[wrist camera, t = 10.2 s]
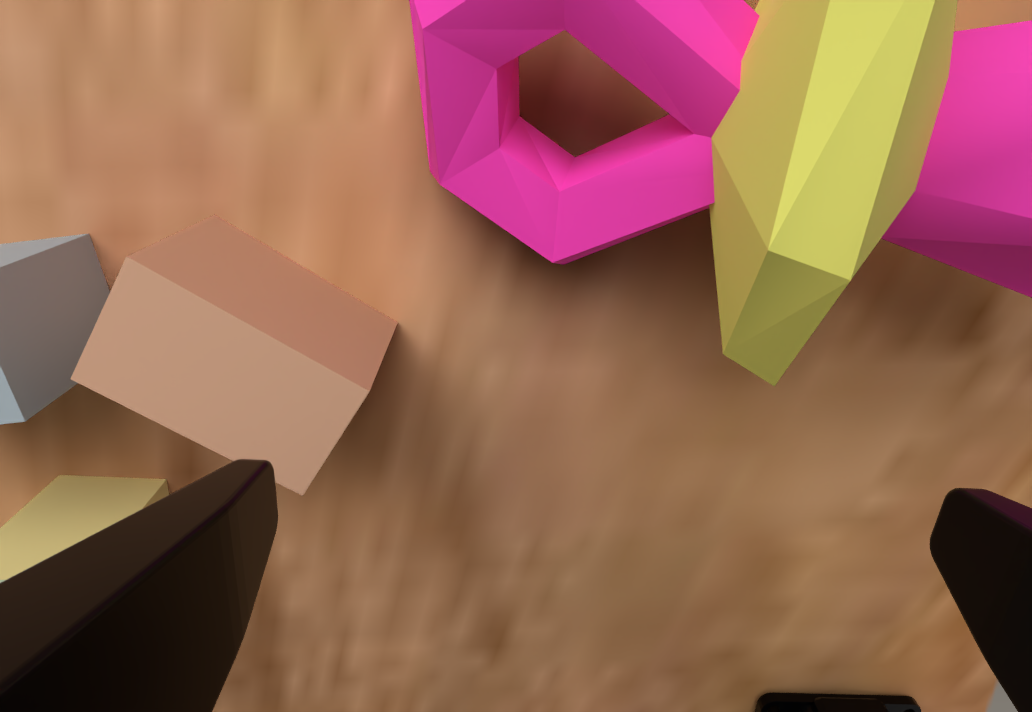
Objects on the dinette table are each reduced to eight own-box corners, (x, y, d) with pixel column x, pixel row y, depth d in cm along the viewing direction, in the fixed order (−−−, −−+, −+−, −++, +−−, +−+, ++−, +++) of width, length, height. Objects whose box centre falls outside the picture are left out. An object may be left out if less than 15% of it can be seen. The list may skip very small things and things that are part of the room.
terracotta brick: (398, 321, 21) (369, 391, 16) (344, 407, 22) (302, 495, 17) (215, 213, 19) (126, 256, 15) (167, 311, 20) (70, 379, 16)
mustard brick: (188, 617, 25) (117, 741, 20) (91, 614, 25) (-3, 738, 20) (166, 479, 22) (81, 583, 18) (59, 474, 22) (-56, 578, 18)
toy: (475, -211, 16) (235, -118, 9) (1388, -197, 12) (2113, -24, 6) (492, 164, 23) (363, 373, 17) (1075, 245, 20) (1223, 559, 13)
